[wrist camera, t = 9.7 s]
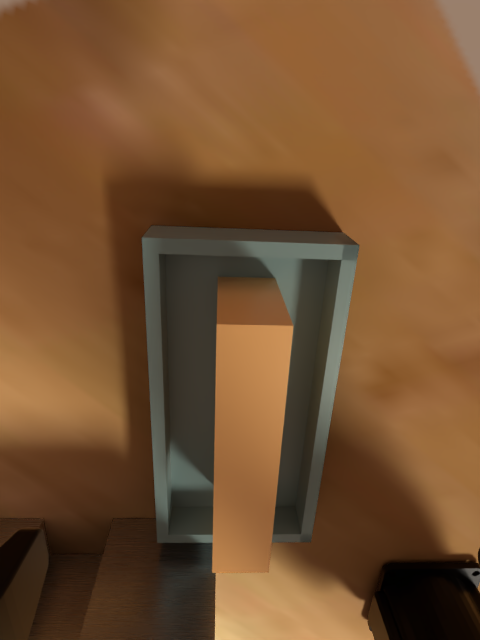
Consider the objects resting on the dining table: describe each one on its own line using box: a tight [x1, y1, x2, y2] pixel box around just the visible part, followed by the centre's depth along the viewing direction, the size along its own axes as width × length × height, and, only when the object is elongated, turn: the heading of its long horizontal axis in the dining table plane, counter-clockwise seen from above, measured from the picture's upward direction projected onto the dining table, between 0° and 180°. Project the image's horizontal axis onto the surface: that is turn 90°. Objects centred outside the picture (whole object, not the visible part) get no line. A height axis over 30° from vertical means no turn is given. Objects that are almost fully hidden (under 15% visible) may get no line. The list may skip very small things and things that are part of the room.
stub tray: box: [142, 225, 359, 543], centre depth 20 cm, size 8×16×2 cm, turn 177°
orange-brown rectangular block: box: [212, 277, 293, 573], centre depth 18 cm, size 2×12×5 cm, turn 177°
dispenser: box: [0, 519, 215, 640], centre depth 22 cm, size 16×8×8 cm, turn 87°
